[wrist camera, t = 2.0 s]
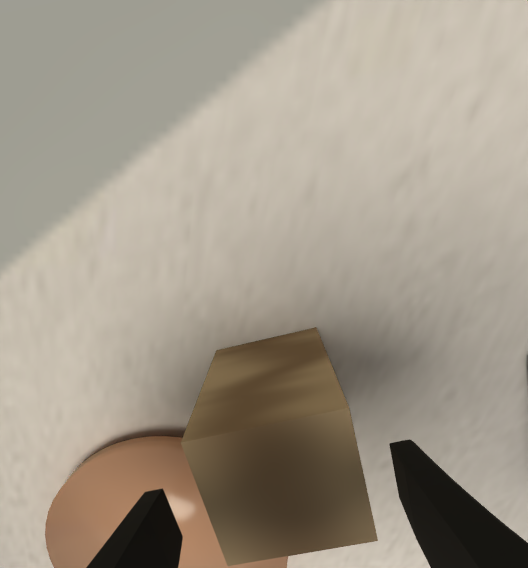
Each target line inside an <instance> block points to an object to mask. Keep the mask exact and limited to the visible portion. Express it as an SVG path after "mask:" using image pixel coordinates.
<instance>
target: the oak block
mask: <svg viewBox="0 0 528 568" xmlns="http://www.w3.org/2000/svg"><path fill="white" fill-rule="evenodd" d="M181 445H182V448H183V450H184V453H185V455H186V458H187V461H188V463H189V466H190V469H191V471H192V474H193V476H194V479H195V482H196V484H197V487H198V490H199V492H200V495H201V498H202V500H203V503H204V505H205V508H206V511H207V513H208V516H209V519H210V521H211V524H212V527H213V529H214V532H215V534H216V537H217V540H218V542H219V545H220V548H221V550H222V553H223V555H224V558H225V561H226V563H227V566H232V565H238V564H244V563H250V562H256V561H262V560H267V559H273V558H279V557H285V556H291V555H297V554H303V553H309V552H314V551H320V550H326V549H332V548H338V547H344V546H350V545H356V544H361V543H367V542H373V541H378V539H377V535H376V530H375V525H374V521H373V516H372V511H371V507H370V502H369V498H368V493H367V488H366V484H365V479H364V474H363V470H362V465H361V461H360V456H359V451H358V447H357V442H356V437H355V433H354V428H353V423H352V419H351V414H350V410H349V406H348V404H347V401H346V399H345V397H344V394H343V392H342V389H341V387H340V384H339V382H338V379H337V377H336V375H335V372H334V370H333V367H332V365H331V362H330V360H329V358H328V355H327V353H326V350H325V348H324V345H323V343H322V340H321V338H320V336H319V333H318V331H317V328H312V329H307V330H303V331H299V332H294V333H290V334H286V335H281V336H277V337H272V338H268V339H264V340H259V341H255V342H251V343H246V344H242V345H238V346H233V347H229V348H225V349H220V350H216V353H215V356H214V358H213V361H212V363H211V366H210V369H209V371H208V374H207V376H206V379H205V381H204V384H203V387H202V389H201V392H200V394H199V397H198V399H197V402H196V405H195V407H194V410H193V412H192V415H191V417H190V420H189V423H188V425H187V428H186V430H185V433H184V435H183V438H182V441H181Z"/></svg>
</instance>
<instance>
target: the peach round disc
mask: <svg viewBox="0 0 528 568" xmlns="http://www.w3.org/2000/svg"><path fill="white" fill-rule="evenodd" d="M181 441H182V438H181V437H169V436H151V437H142V438H135V439H130V440H126V441H123V442H119V443H116V444H114V445H111V446H109V447H106V448H104V449H102V450H100V451H99V452H97V453H95V454H94V455H92V456H90V457H89V458H88V459H87V460H85V461H84V462H83V463H82V464H80V466H79V467H78V468H77V469H76V470H75V471H74V472H73V473H72V474H71V476H70V477H69V478H68V480H67V481H66V482H65V484H64V485H63V486H62V488H61V489H60V490H59V492H58V494H57V495H56V497H55V498H54V500H53V502H52V504H51V507H50V509H49V511H48V516H47V520H46V529H45V538H46V545H47V550H48V553H49V557H50V560H51V562H52V564H53V566H54V568H86V567H87V566H88V565H89V563H90V562H91V561H92V560H93V558H94V557H95V556H96V554H97V553H98V552H99V551H100V549H101V548H102V547H103V545H104V544H105V543H106V542H107V540H108V539H109V538H110V536H111V535H112V534H113V532H114V531H115V530H116V528H117V527H118V526H119V525H120V523H121V522H122V521H123V519H124V518H125V517H126V515H127V514H128V513H129V511H130V510H131V509H132V508H133V506H134V505H135V504H136V502H137V501H138V500H139V499H140V497H141V496H142V495H143V494H144V492H147V491H152V490H157V489H162V488H163V490H164V492H165V495H166V497H167V499H168V502H169V504H170V507H171V509H172V512H173V514H174V516H175V519H176V521H177V524H178V526H179V528H180V531H181V533H182V536H183V540H182V547H181V554H180V560H179V566H178V568H286V567H287V559H288V556H285V557H279V558H273V559H267V560H262V561H256V562H250V563H244V564H238V565H232V566H227V563H226V561H225V558H224V555H223V553H222V550H221V548H220V545H219V542H218V540H217V537H216V534H215V532H214V529H213V527H212V524H211V521H210V519H209V516H208V513H207V511H206V508H205V505H204V503H203V500H202V498H201V495H200V492H199V490H198V487H197V484H196V482H195V479H194V476H193V474H192V471H191V469H190V466H189V463H188V461H187V458H186V455H185V453H184V450H183V448H182V445H181Z"/></svg>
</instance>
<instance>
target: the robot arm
mask: <svg viewBox="0 0 528 568" xmlns="http://www.w3.org/2000/svg"><path fill="white" fill-rule="evenodd" d="M390 449H391V455H392V460H393V466H394V471H395V477H396V482H397V487H398V493H399V498H400V500H401V502H402V505H403V507H404V510H405V512H406V515H407V517H408V520H409V522H410V524H411V527H412V529H413V532H414V534H415V536H416V539H417V541H418V543H419V545H420V547H421V549H422V551H423V553H424V555H425V557H426V559H427V561H428V563H429V565H430V567H431V568H528V543H527V542H526V541H525V540H523V539H522V538H521V537H520V536H518V535H517V534H516V533H515V532H513V531H512V530H511V529H510V528H508V527H507V526H506V525H505V524H504V523H502V522H501V521H500V520H499V519H498V518H496V517H495V516H494V515H493V514H492V513H490V512H489V511H488V510H487V509H486V508H485V507H483V506H482V505H481V504H480V503H479V502H478V501H477V500H475V499H474V498H473V497H472V496H471V495H470V494H468V493H467V492H466V491H465V490H464V489H463V488H462V487H461V486H459V485H458V484H457V483H456V482H455V481H454V480H453V479H452V478H451V477H450V476H448V475H447V474H446V473H445V472H444V471H443V470H442V469H441V468H440V467H439V466H438V465H437V464H436V463H435V462H434V461H433V460H432V459H430V458H429V457H428V456H427V455H426V454H425V453H424V452H423V451H422V450H421V449H420V448H419V447H418V446H417V445H416V444H415V443H414V442H413V441H412V440H405V441H400V442H395V443H390ZM182 540H183V536H182V533H181V531H180V528H179V526H178V524H177V521H176V519H175V516H174V514H173V512H172V509H171V507H170V504H169V502H168V499H167V497H166V495H165V492H164V490H163V488H162V489H157V490H152V491H147V492H144V494H143V495H142V496H141V497H140V499H139V500H138V501H137V502H136V504H135V505H134V506H133V508H132V509H131V510H130V511H129V513H128V514H127V515H126V517H125V518H124V519H123V521H122V522H121V523H120V525H119V526H118V527H117V528H116V530H115V531H114V532H113V534H112V535H111V536H110V538H109V539H108V540H107V542H106V543H105V544H104V545H103V547H102V548H101V549H100V551H99V552H98V553H97V554H96V556H95V557H94V558H93V560H92V561H91V562H90V563H89V565H88V566H87V567H86V568H178V566H179V560H180V554H181V547H182Z"/></svg>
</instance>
